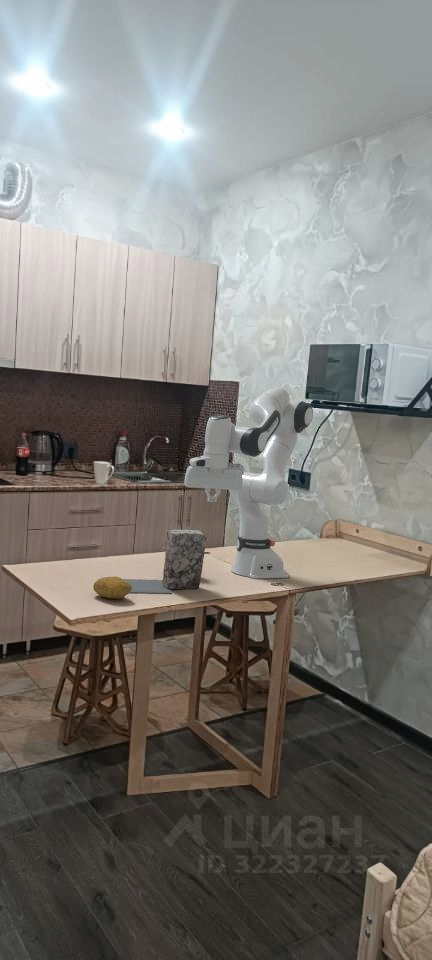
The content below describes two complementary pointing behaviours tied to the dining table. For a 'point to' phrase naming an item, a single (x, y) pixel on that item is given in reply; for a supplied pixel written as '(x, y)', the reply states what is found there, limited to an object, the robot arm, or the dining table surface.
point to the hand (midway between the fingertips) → (211, 501)
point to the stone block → (183, 559)
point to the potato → (112, 587)
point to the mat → (148, 586)
